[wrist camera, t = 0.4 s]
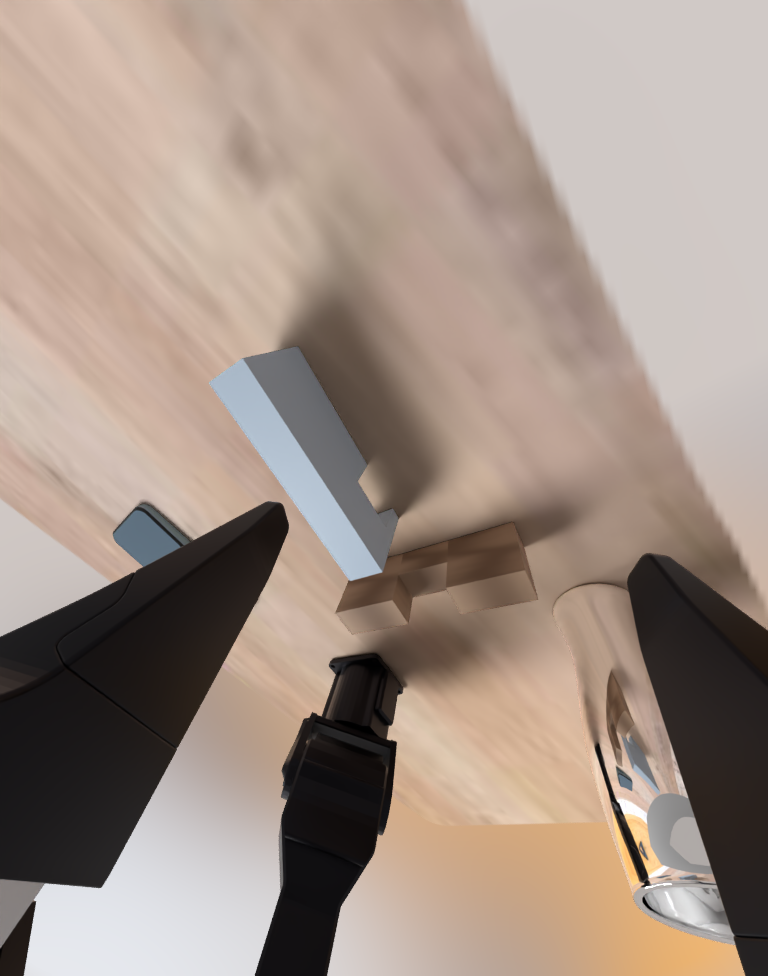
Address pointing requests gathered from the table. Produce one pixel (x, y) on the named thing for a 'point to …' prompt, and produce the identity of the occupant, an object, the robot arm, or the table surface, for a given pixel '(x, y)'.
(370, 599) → the tan wooden plank
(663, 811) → the beer glass
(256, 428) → the pale blue upright post
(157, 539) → the smartphone
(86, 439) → the table surface
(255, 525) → the robot arm
